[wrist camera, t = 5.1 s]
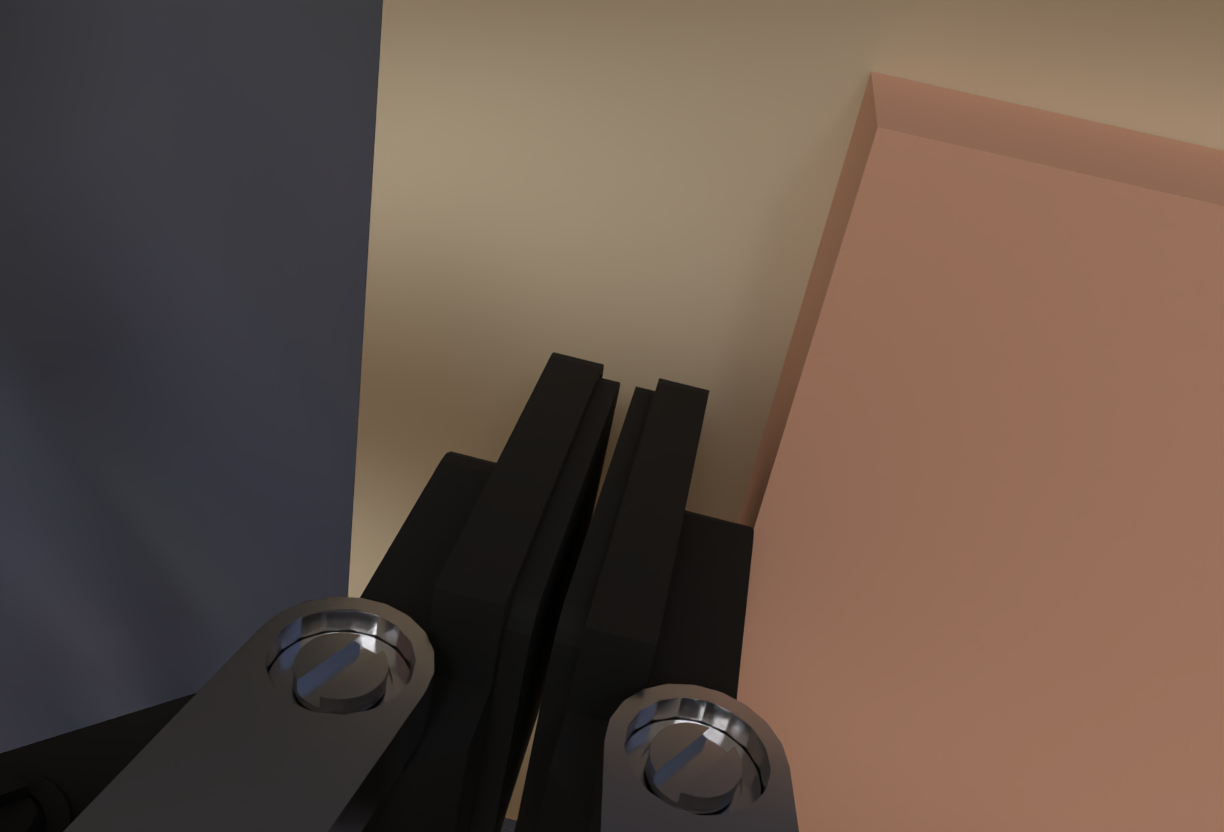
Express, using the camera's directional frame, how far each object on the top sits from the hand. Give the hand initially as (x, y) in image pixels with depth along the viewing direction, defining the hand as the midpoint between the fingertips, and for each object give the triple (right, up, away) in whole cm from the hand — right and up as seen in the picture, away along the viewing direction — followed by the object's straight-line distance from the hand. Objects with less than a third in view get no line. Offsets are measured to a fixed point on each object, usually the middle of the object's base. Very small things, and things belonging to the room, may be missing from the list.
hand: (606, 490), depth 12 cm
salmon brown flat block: (+5, -1, +1) cm, 5 cm away
